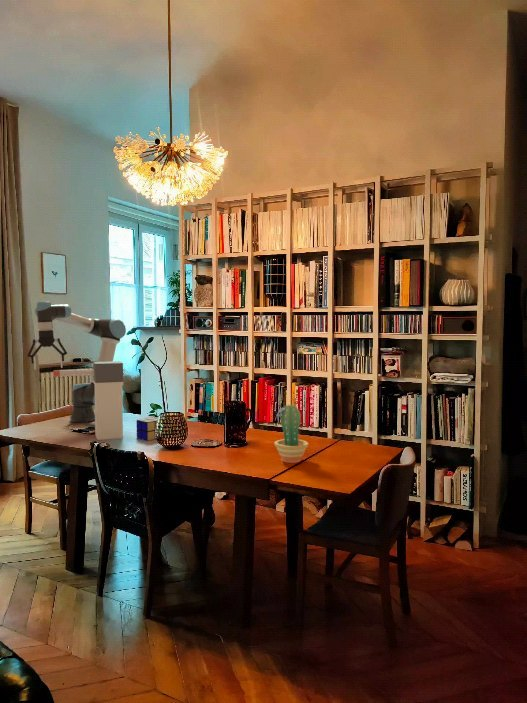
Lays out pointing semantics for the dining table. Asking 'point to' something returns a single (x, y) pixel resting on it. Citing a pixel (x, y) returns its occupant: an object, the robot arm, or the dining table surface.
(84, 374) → the plug rod
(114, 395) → the socket stand
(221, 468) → the dining table surface
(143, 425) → the puzzle cube
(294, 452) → the potted cactus
